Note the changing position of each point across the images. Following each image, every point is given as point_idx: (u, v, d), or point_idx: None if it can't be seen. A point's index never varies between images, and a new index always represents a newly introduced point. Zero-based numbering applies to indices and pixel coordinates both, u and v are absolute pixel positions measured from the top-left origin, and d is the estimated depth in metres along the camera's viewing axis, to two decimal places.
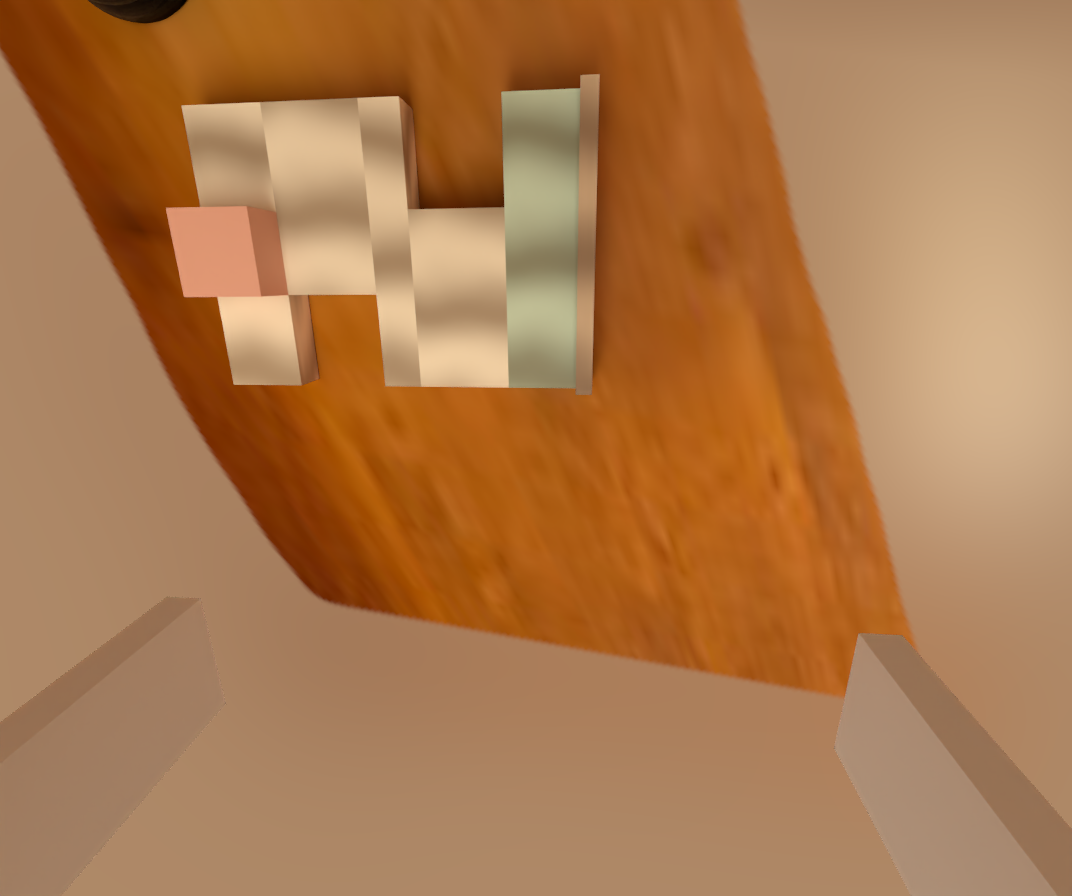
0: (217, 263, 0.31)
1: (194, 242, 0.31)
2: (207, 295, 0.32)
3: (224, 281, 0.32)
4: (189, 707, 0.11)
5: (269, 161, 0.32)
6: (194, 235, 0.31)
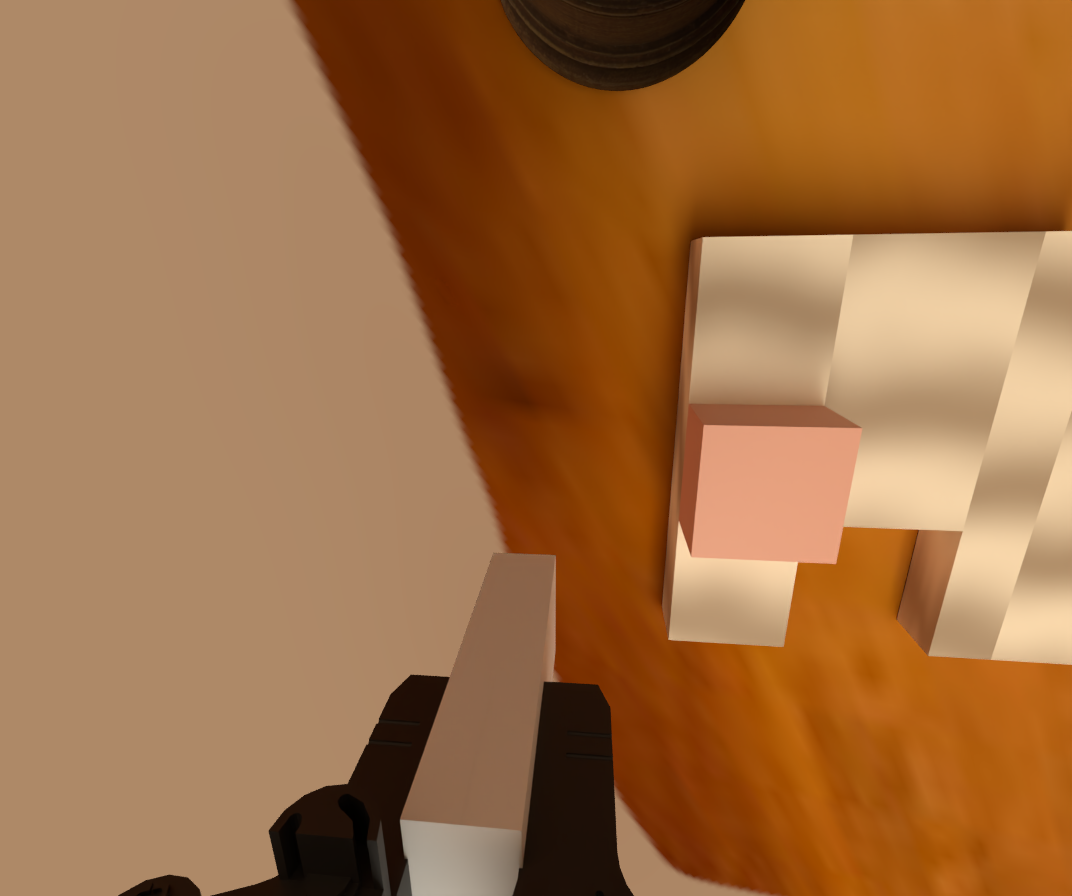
0: (772, 511, 0.18)
1: (738, 479, 0.18)
2: (735, 557, 0.19)
3: (774, 539, 0.18)
4: None
5: (836, 327, 0.19)
6: (743, 468, 0.18)
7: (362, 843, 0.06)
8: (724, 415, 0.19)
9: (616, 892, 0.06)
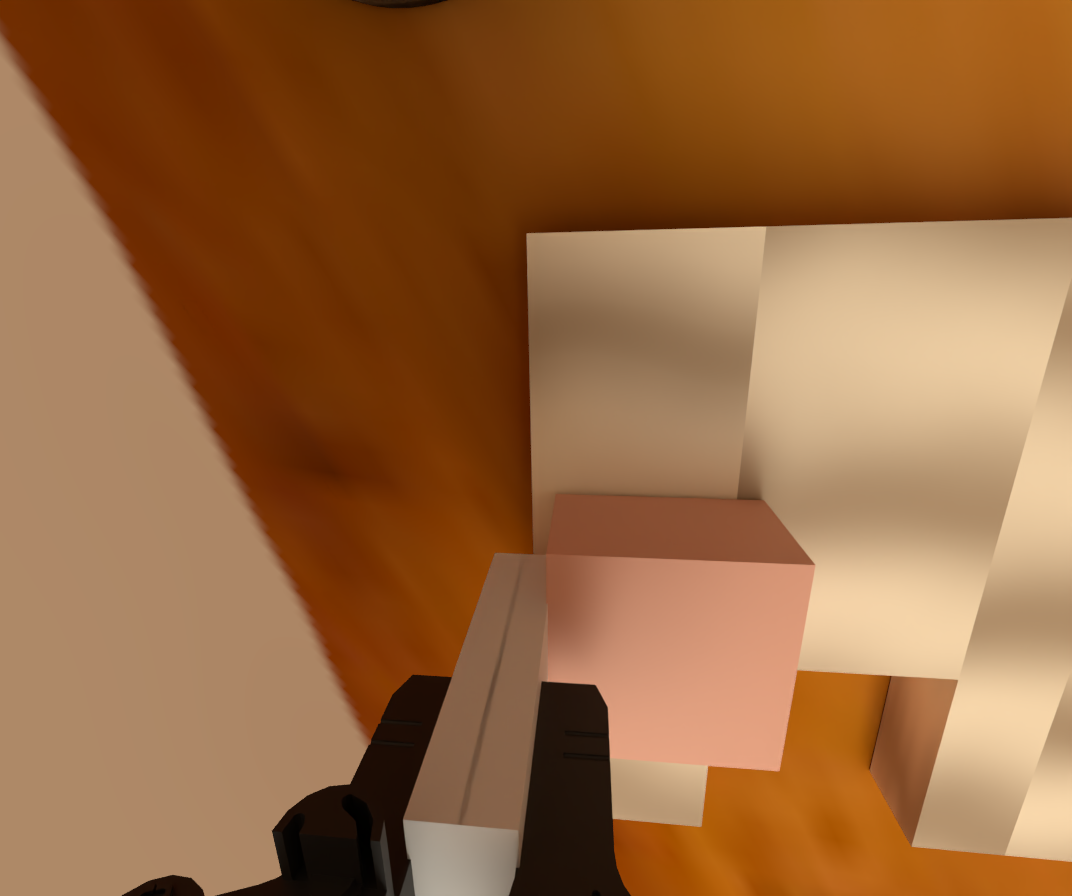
0: (671, 691, 0.11)
1: (612, 640, 0.11)
2: (617, 756, 0.12)
3: (677, 731, 0.11)
4: None
5: (748, 375, 0.12)
6: (618, 624, 0.10)
7: (365, 843, 0.06)
8: (595, 525, 0.11)
9: (612, 891, 0.06)
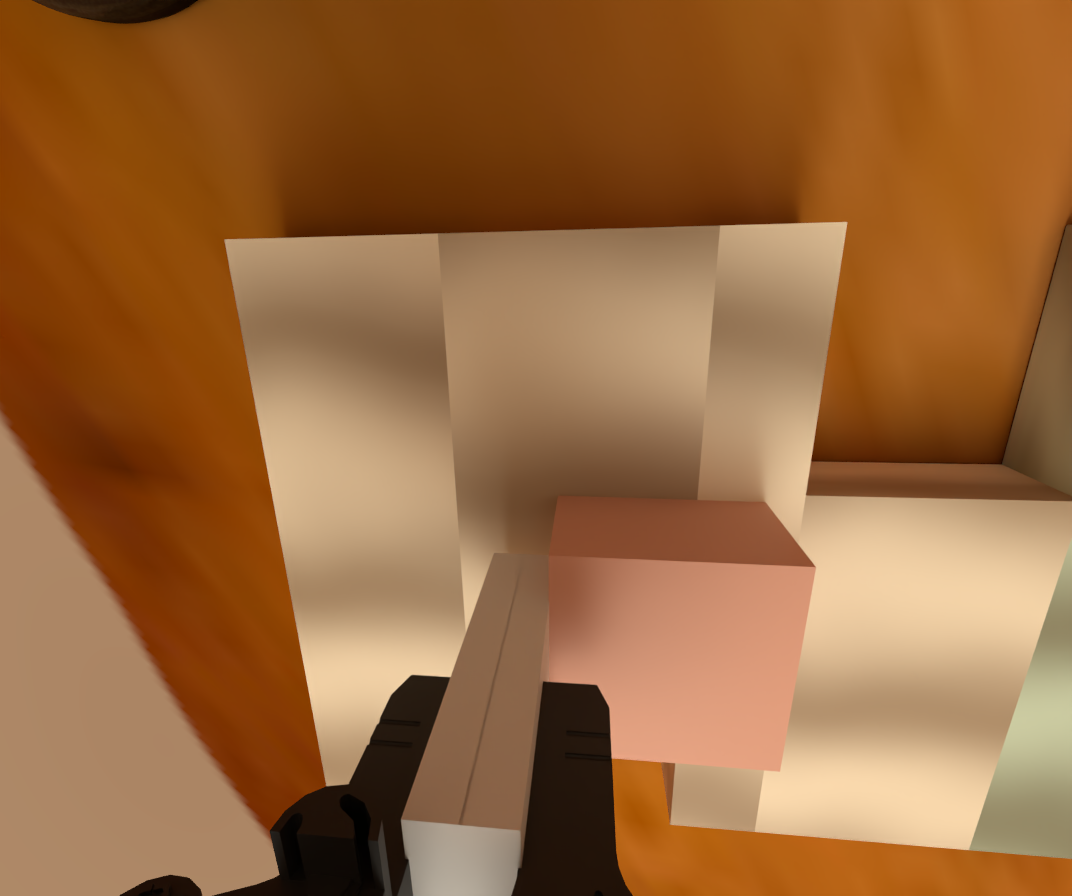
0: (673, 692, 0.11)
1: (614, 641, 0.11)
2: (619, 756, 0.12)
3: (678, 732, 0.11)
4: None
5: (449, 374, 0.13)
6: (620, 625, 0.11)
7: (363, 843, 0.06)
8: (597, 527, 0.11)
9: (615, 891, 0.06)
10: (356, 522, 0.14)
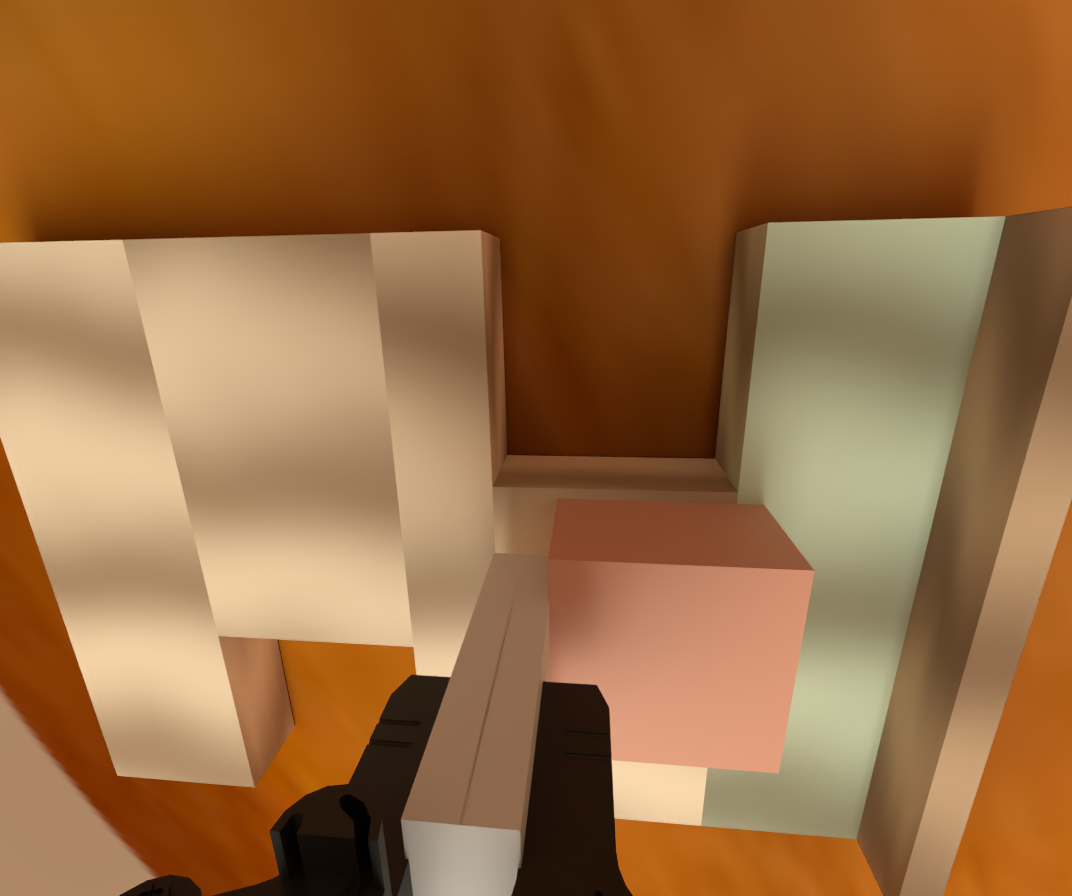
0: (672, 694, 0.11)
1: (613, 644, 0.11)
2: (618, 758, 0.12)
3: (677, 734, 0.11)
4: None
5: (158, 372, 0.13)
6: (619, 628, 0.11)
7: (363, 843, 0.06)
8: (596, 530, 0.11)
9: (615, 891, 0.06)
10: (97, 512, 0.15)
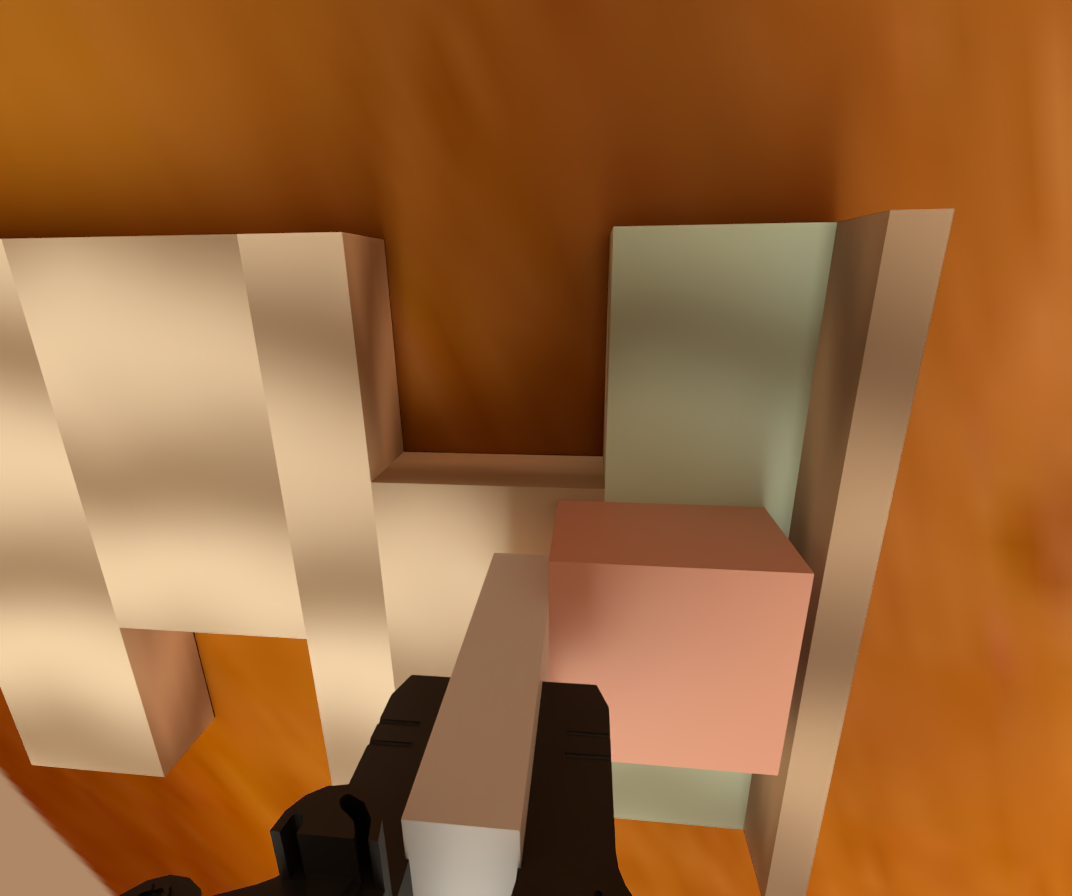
0: (672, 696, 0.11)
1: (613, 646, 0.11)
2: (618, 760, 0.12)
3: (677, 736, 0.11)
4: None
5: (45, 368, 0.14)
6: (619, 630, 0.11)
7: (363, 843, 0.06)
8: (597, 532, 0.11)
9: (615, 892, 0.06)
10: None
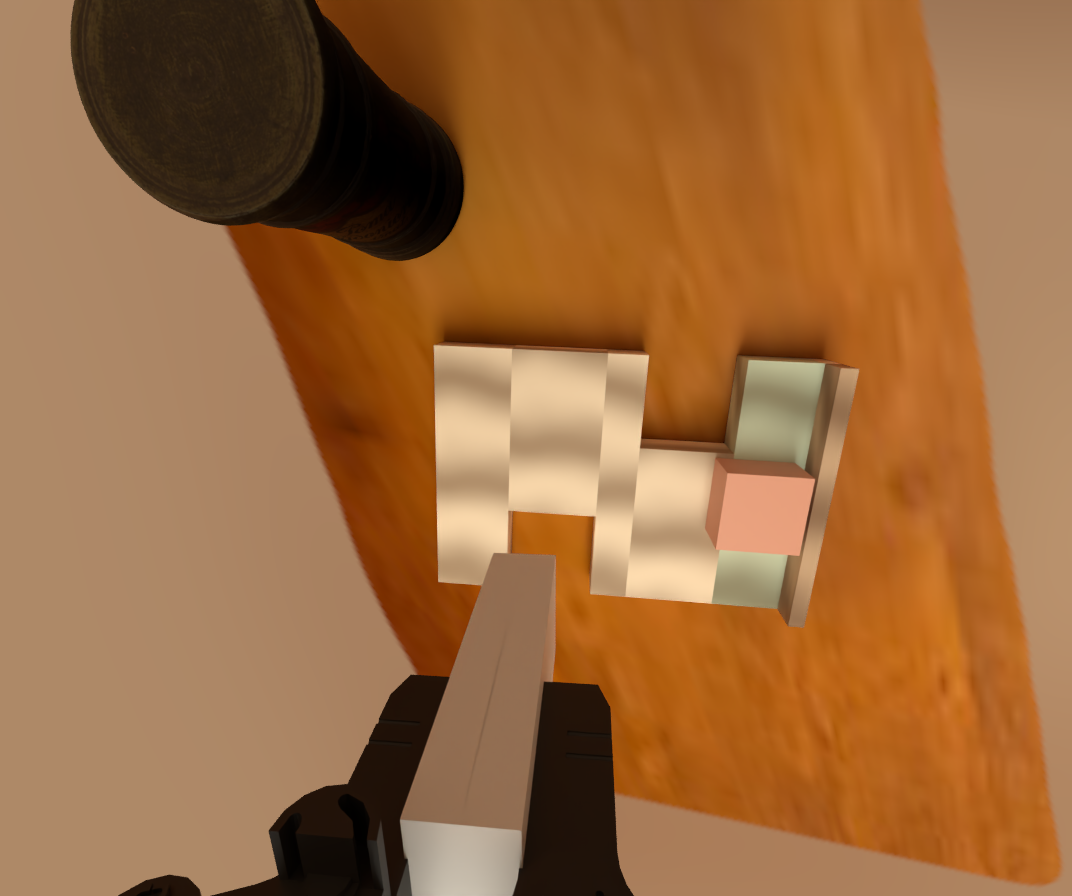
0: (764, 524, 0.32)
1: (745, 504, 0.31)
2: (741, 550, 0.32)
3: (764, 540, 0.32)
4: None
5: (511, 397, 0.34)
6: (748, 498, 0.31)
7: (362, 843, 0.06)
8: (738, 467, 0.32)
9: (616, 891, 0.06)
10: (468, 453, 0.35)
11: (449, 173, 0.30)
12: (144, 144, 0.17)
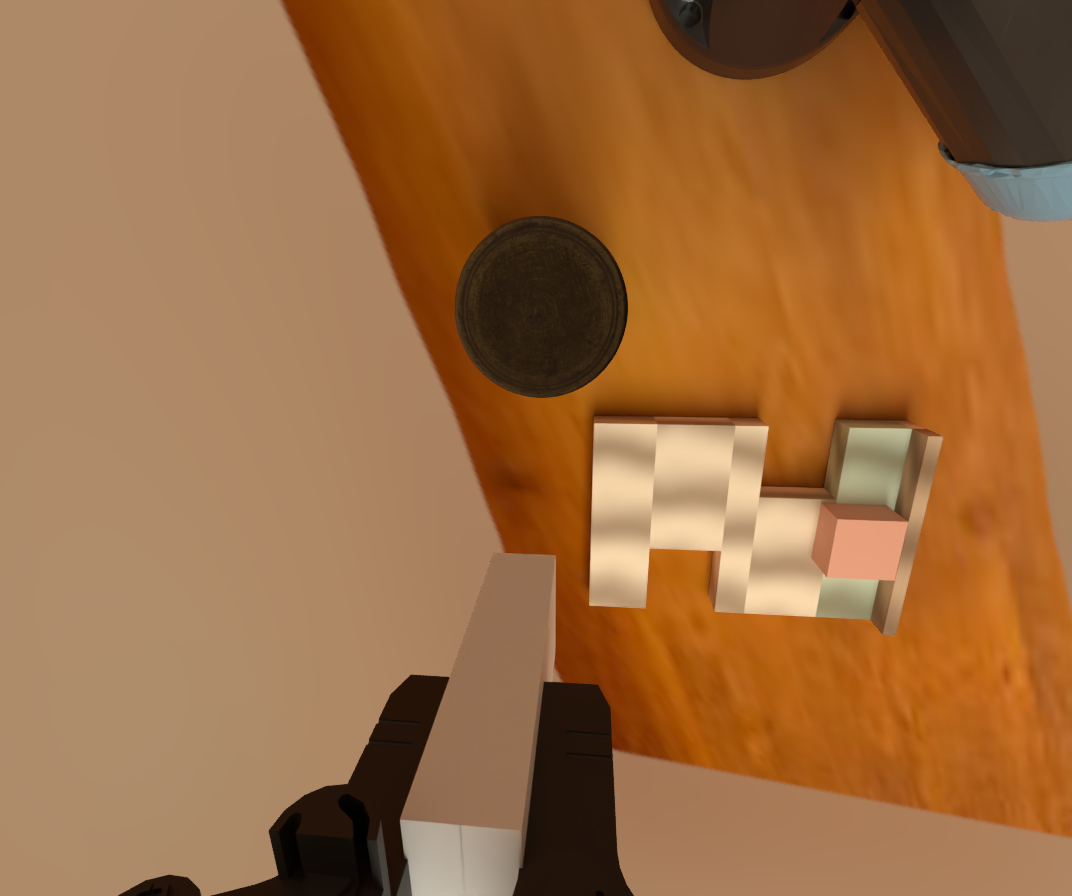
0: (866, 557, 0.40)
1: (851, 542, 0.40)
2: (848, 577, 0.41)
3: (866, 569, 0.40)
4: None
5: (654, 461, 0.43)
6: (854, 538, 0.40)
7: (362, 843, 0.06)
8: (843, 512, 0.41)
9: (616, 892, 0.06)
10: (618, 505, 0.44)
11: None
12: (498, 354, 0.26)
